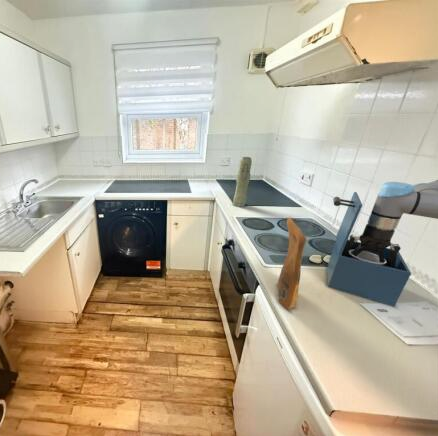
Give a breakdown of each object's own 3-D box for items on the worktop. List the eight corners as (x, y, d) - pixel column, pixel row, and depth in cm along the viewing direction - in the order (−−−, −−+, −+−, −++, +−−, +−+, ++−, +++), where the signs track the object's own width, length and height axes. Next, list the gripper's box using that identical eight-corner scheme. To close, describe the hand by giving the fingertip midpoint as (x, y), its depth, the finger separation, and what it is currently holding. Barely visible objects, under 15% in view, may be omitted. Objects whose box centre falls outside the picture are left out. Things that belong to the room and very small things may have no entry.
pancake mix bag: (274, 310, 80) (294, 236, 69) (272, 277, 96) (287, 214, 85) (297, 316, 78) (321, 240, 67) (291, 282, 94) (309, 216, 83)
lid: (356, 192, 91) (335, 188, 94) (362, 205, 77) (337, 200, 81) (338, 236, 99) (319, 232, 102) (341, 255, 85) (318, 249, 89)
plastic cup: (375, 280, 93) (387, 254, 88) (374, 294, 86) (387, 267, 81) (340, 269, 100) (350, 245, 95) (337, 282, 92) (347, 255, 88)
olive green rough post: (243, 202, 182) (251, 156, 169) (247, 207, 171) (255, 158, 158) (231, 202, 183) (238, 156, 170) (234, 207, 173) (241, 158, 159)
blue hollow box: (384, 280, 95) (398, 250, 89) (394, 306, 81) (411, 273, 76) (327, 265, 104) (337, 237, 99) (328, 286, 91) (339, 256, 86)
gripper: (419, 229, 81) (392, 283, 90) (343, 216, 92) (325, 266, 100) (426, 238, 75) (397, 295, 84) (344, 223, 86) (325, 274, 95)
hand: (358, 279), depth 92 cm, fingers closed on plastic cup, 8 cm apart
